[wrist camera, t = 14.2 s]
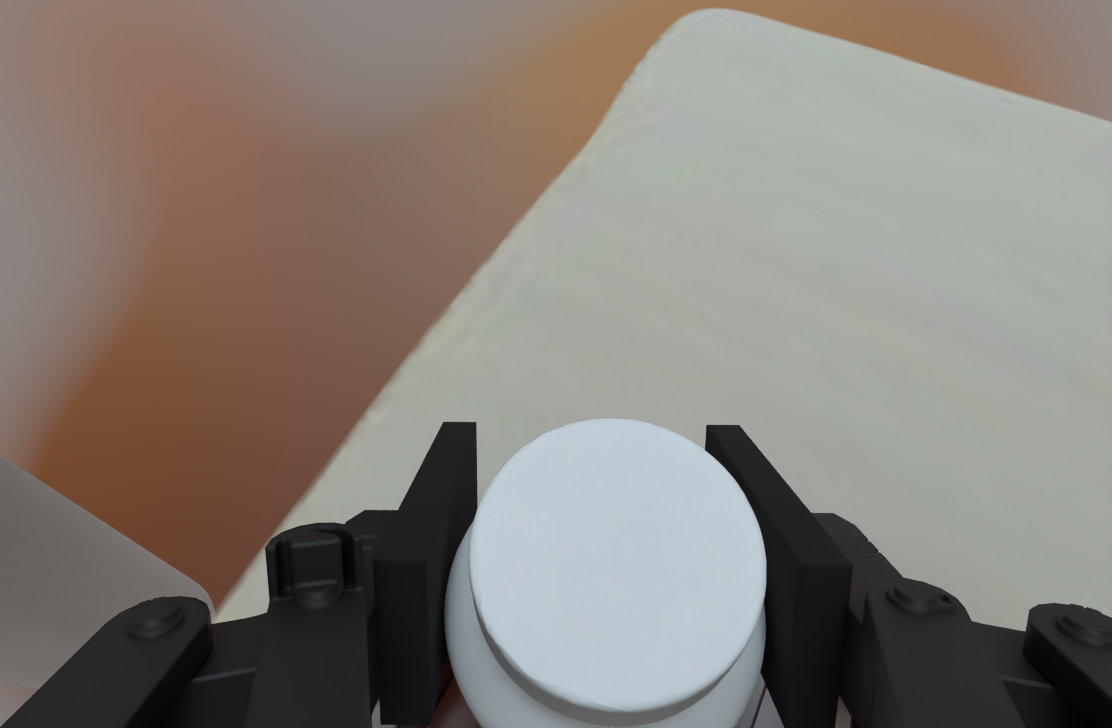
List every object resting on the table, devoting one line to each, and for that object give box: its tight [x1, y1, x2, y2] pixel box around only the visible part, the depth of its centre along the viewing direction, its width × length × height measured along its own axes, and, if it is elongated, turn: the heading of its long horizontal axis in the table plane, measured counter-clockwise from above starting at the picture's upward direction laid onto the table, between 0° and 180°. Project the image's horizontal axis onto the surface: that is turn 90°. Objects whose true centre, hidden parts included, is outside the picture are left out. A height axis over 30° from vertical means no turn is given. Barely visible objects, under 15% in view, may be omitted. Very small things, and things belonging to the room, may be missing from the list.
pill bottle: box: [444, 418, 766, 728], centre depth 13 cm, size 5×5×10 cm
